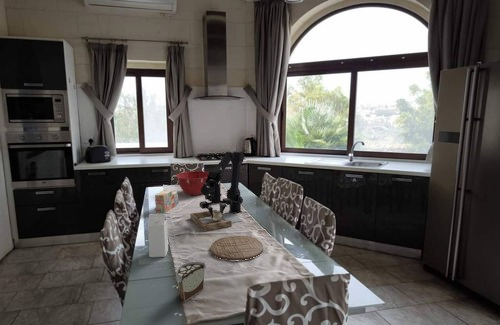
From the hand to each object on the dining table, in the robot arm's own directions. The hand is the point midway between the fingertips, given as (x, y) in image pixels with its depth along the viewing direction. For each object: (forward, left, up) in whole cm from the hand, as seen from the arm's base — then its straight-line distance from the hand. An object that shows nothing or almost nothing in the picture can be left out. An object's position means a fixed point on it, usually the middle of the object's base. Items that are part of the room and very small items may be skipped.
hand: (216, 217), depth 186 cm
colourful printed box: (+20, -39, -3) cm, 44 cm away
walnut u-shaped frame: (+4, 0, -2) cm, 5 cm away
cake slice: (+36, +66, -3) cm, 75 cm away
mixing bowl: (-9, -70, -3) cm, 71 cm away
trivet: (+5, +41, -3) cm, 41 cm away
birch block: (0, 0, -1) cm, 1 cm away
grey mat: (-10, 0, -2) cm, 10 cm away
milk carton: (+39, +29, -3) cm, 49 cm away
